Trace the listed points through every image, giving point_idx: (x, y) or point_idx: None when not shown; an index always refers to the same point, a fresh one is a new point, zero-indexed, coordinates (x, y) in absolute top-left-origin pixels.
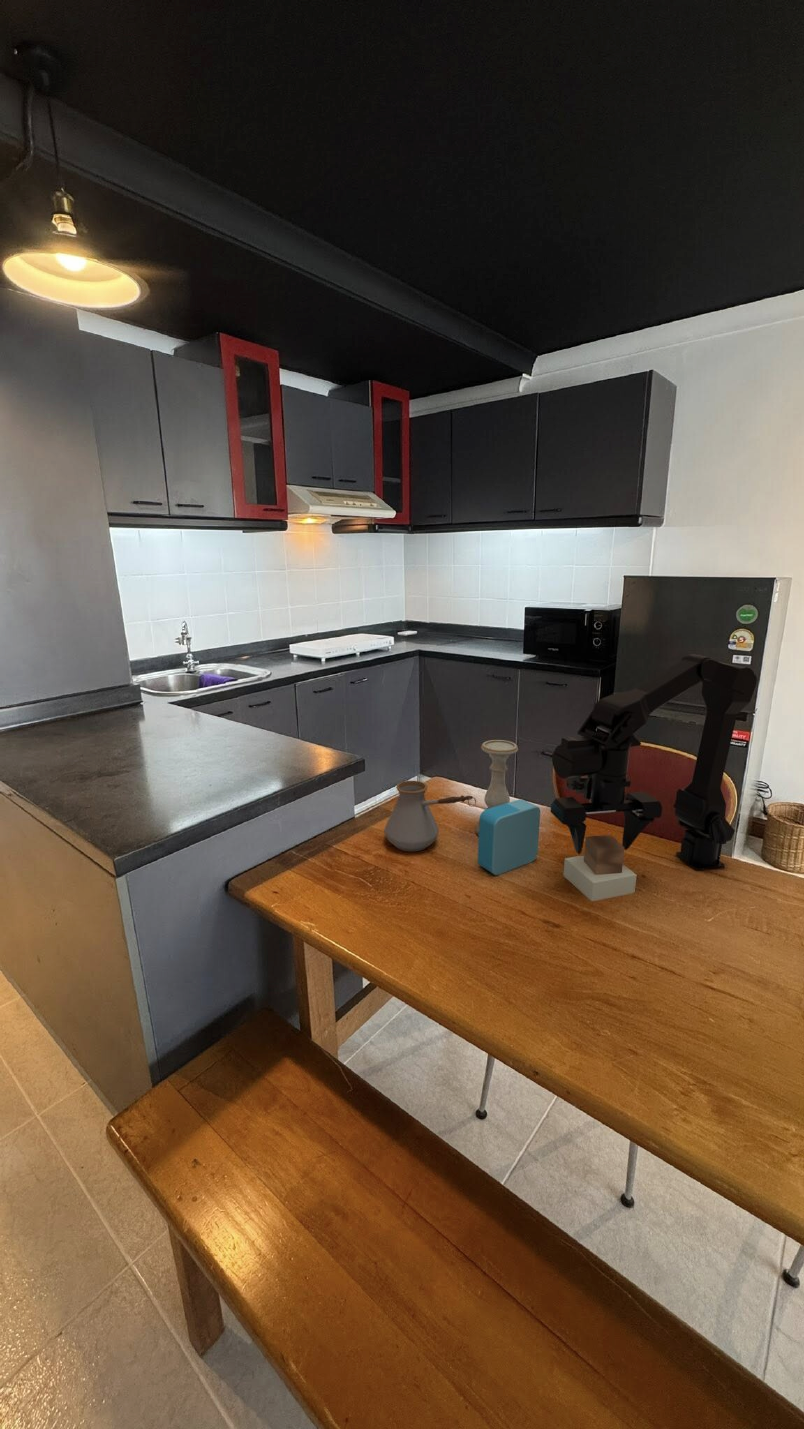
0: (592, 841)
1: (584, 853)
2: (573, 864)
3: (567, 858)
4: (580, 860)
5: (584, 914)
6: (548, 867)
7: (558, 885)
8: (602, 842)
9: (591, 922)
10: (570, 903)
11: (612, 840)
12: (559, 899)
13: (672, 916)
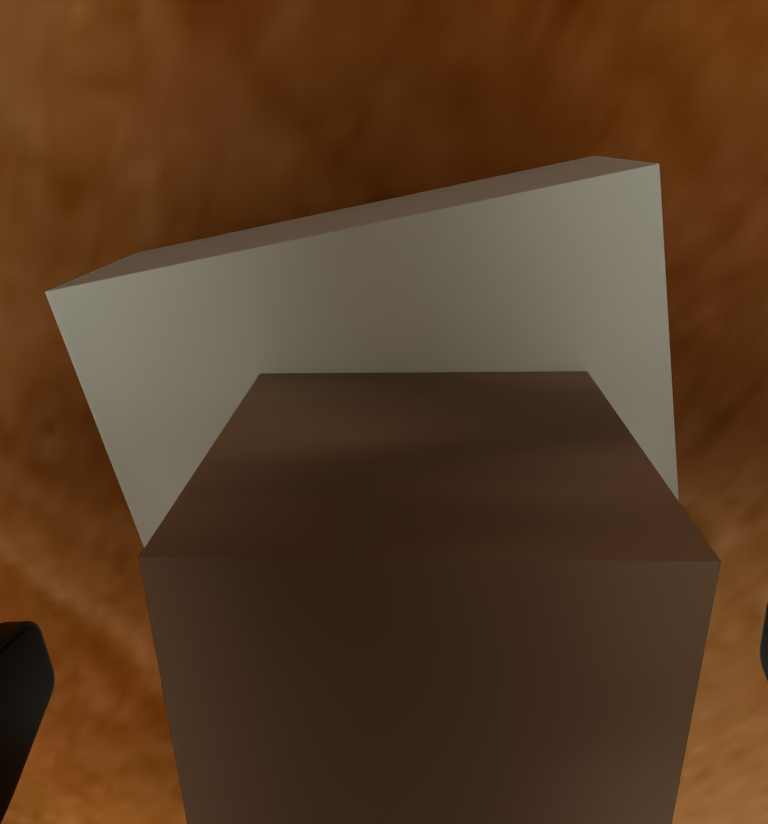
0: (209, 727)
1: (236, 414)
2: (118, 433)
3: (77, 298)
4: (225, 360)
5: (160, 724)
6: (14, 75)
7: (57, 403)
8: (375, 778)
9: (179, 786)
10: (99, 620)
11: (596, 750)
12: (30, 572)
13: (703, 800)
